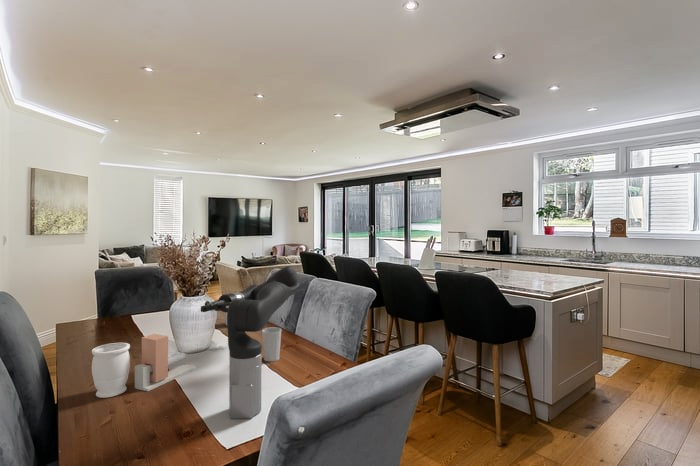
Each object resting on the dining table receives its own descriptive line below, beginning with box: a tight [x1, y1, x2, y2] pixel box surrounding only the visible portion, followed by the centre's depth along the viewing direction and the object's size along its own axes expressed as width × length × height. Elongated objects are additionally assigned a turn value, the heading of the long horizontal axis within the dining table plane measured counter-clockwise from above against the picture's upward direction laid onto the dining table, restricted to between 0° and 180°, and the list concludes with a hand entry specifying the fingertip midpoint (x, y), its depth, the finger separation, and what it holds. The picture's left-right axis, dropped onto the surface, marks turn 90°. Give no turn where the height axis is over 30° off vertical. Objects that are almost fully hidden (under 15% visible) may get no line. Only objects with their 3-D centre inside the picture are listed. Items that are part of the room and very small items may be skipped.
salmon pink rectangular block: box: [141, 333, 169, 382], centre depth 129 cm, size 5×7×14 cm
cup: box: [261, 326, 282, 362], centre depth 153 cm, size 8×8×12 cm
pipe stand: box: [134, 351, 197, 392], centre depth 133 cm, size 21×6×8 cm, turn 158°
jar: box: [91, 342, 131, 399], centre depth 121 cm, size 11×10×15 cm
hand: (202, 309), depth 142 cm, fingers closed
